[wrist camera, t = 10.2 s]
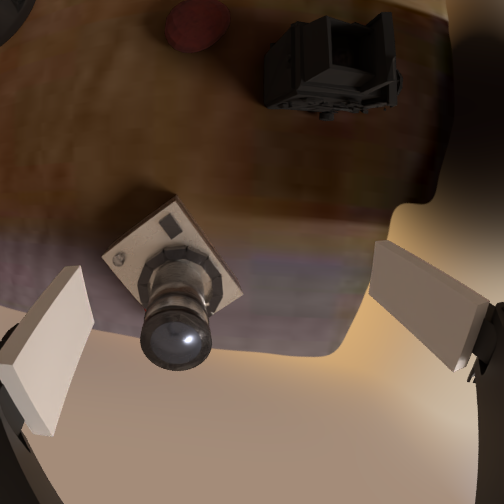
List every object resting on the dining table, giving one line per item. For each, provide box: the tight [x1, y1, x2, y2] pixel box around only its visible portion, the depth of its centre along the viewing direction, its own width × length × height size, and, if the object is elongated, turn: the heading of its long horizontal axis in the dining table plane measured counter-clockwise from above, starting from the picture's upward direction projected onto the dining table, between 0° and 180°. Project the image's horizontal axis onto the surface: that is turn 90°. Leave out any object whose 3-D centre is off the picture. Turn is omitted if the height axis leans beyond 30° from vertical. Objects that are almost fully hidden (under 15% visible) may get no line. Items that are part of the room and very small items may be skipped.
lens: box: [140, 262, 212, 371], centre depth 31 cm, size 6×6×12 cm
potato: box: [165, 0, 231, 53], centre depth 29 cm, size 7×8×6 cm
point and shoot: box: [102, 195, 243, 318], centre depth 38 cm, size 14×11×6 cm
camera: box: [264, 12, 403, 121], centre depth 27 cm, size 10×14×20 cm
